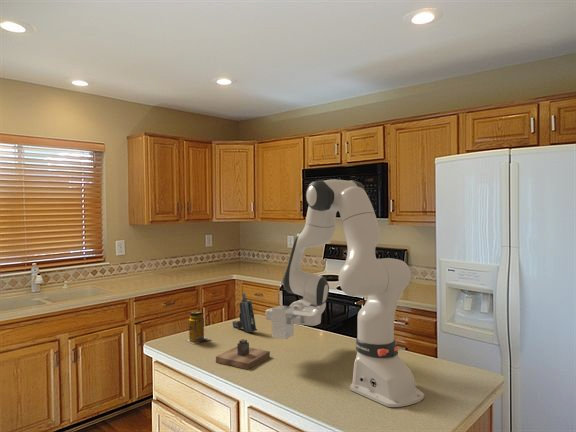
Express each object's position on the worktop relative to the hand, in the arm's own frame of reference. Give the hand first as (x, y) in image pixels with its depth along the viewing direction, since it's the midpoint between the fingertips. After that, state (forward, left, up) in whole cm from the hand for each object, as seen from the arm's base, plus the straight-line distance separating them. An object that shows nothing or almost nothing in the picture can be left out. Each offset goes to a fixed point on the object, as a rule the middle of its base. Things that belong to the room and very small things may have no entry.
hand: (281, 320), depth 144 cm
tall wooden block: (0, -1, -6) cm, 6 cm away
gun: (+47, -5, -16) cm, 50 cm away
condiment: (+43, +17, -16) cm, 49 cm away
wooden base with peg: (+13, +9, -16) cm, 22 cm away
